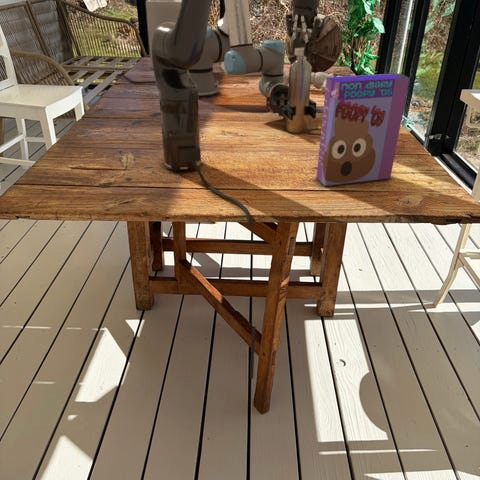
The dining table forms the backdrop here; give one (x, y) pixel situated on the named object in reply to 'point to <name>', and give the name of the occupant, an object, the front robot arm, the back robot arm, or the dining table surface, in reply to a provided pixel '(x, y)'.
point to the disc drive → (239, 75)
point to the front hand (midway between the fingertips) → (301, 54)
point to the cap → (299, 51)
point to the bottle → (299, 94)
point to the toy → (314, 79)
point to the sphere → (320, 46)
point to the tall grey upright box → (160, 15)
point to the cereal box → (360, 127)
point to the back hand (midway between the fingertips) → (303, 115)
